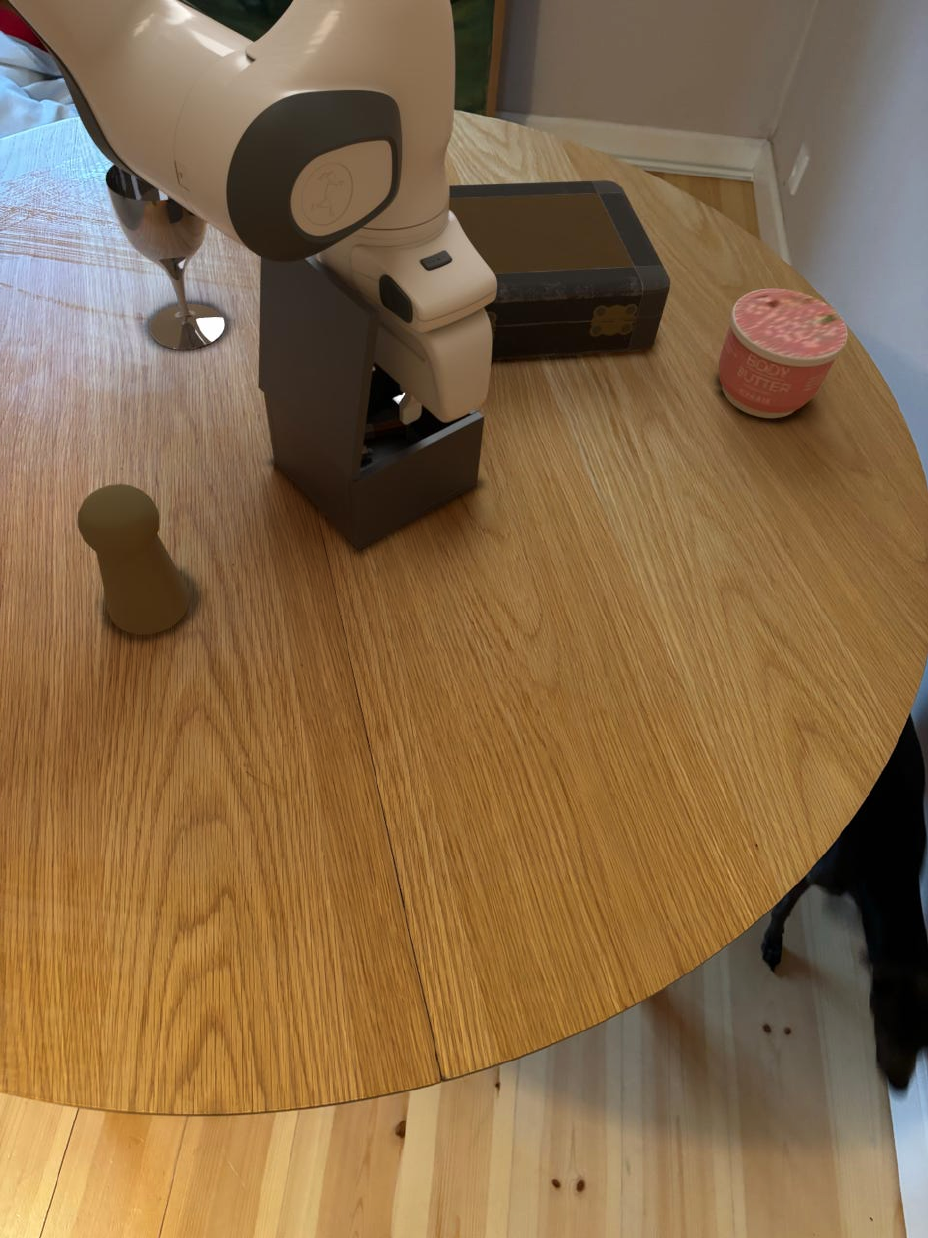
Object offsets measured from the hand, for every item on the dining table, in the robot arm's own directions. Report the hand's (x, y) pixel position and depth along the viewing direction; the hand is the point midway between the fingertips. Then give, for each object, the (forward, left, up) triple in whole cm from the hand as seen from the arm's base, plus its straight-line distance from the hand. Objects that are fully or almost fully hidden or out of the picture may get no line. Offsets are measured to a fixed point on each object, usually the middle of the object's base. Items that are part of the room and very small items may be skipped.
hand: (383, 395), depth 71 cm
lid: (-6, 0, +7) cm, 9 cm away
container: (+36, -13, -8) cm, 39 cm away
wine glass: (-4, +27, -8) cm, 29 cm away
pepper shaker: (-23, -1, -8) cm, 24 cm away
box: (-1, 0, -8) cm, 8 cm away
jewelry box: (+26, +12, -8) cm, 30 cm away
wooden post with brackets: (0, +1, -6) cm, 6 cm away
